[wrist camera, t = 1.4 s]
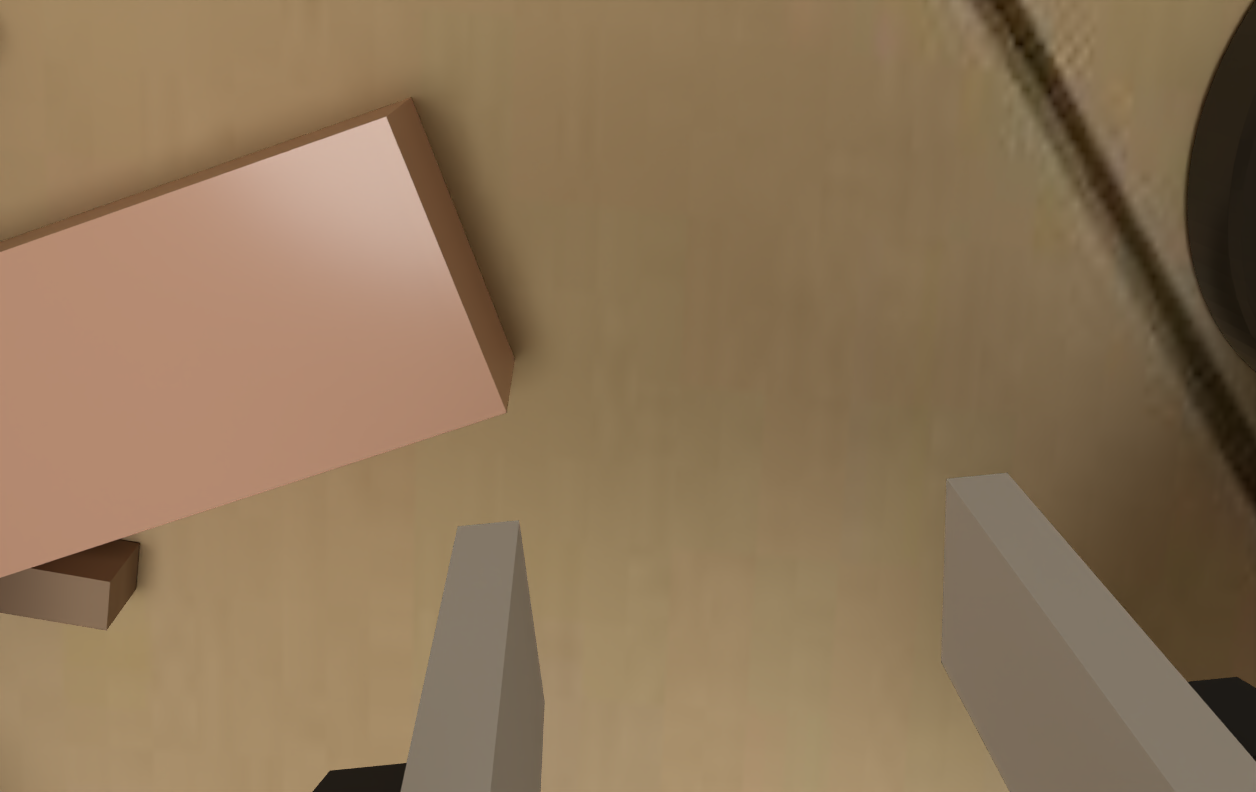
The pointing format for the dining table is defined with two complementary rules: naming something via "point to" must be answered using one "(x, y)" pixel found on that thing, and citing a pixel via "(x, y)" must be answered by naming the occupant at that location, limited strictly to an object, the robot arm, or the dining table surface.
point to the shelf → (75, 586)
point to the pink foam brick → (237, 336)
